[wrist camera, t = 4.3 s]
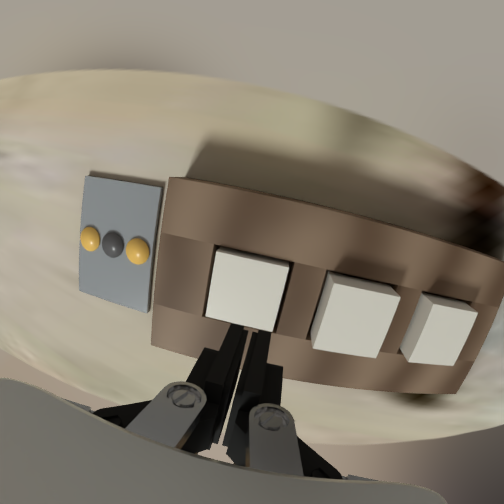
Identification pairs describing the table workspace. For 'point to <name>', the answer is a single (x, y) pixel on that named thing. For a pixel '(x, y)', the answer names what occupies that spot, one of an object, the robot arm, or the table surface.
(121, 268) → the card
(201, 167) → the table surface
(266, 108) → the table surface
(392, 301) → the button middle
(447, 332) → the button
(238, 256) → the button
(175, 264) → the button board
